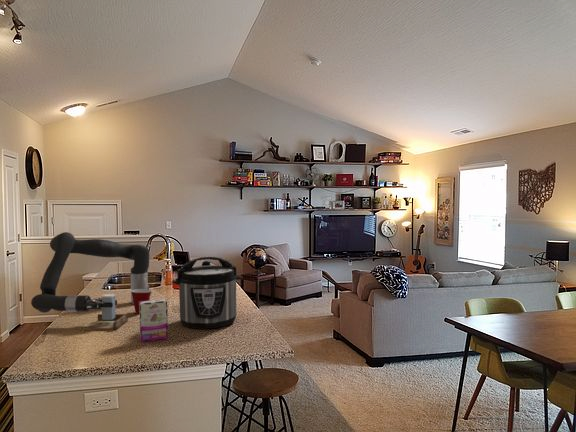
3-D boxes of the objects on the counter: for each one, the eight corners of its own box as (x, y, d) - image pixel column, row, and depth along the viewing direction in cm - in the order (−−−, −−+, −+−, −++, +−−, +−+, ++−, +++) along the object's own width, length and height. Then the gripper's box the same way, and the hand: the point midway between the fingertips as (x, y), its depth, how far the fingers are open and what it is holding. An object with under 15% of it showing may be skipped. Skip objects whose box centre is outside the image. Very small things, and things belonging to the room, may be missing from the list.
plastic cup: (157, 311, 229) (156, 288, 228) (142, 316, 219) (141, 292, 219) (141, 309, 233) (141, 287, 233) (126, 313, 224) (125, 290, 223)
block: (105, 317, 205) (105, 294, 204) (115, 317, 205) (115, 294, 204) (101, 319, 200) (101, 296, 200) (111, 319, 200) (111, 296, 200)
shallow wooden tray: (98, 321, 209) (98, 314, 209) (127, 321, 210) (127, 314, 209) (84, 330, 194) (84, 322, 194) (116, 330, 195) (115, 322, 194)
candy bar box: (166, 336, 187) (166, 298, 186) (168, 339, 182) (167, 300, 181) (139, 339, 182) (138, 300, 182) (140, 342, 178) (139, 303, 177)
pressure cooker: (163, 328, 198) (163, 259, 197) (194, 313, 225) (194, 252, 224) (222, 334, 189) (222, 262, 188) (247, 317, 216) (247, 254, 215)
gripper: (70, 298, 195) (108, 299, 195) (84, 292, 209) (120, 292, 209) (70, 315, 195) (108, 315, 195) (84, 307, 209) (120, 307, 210)
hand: (114, 303), depth 202 cm, fingers closed on block, 4 cm apart
